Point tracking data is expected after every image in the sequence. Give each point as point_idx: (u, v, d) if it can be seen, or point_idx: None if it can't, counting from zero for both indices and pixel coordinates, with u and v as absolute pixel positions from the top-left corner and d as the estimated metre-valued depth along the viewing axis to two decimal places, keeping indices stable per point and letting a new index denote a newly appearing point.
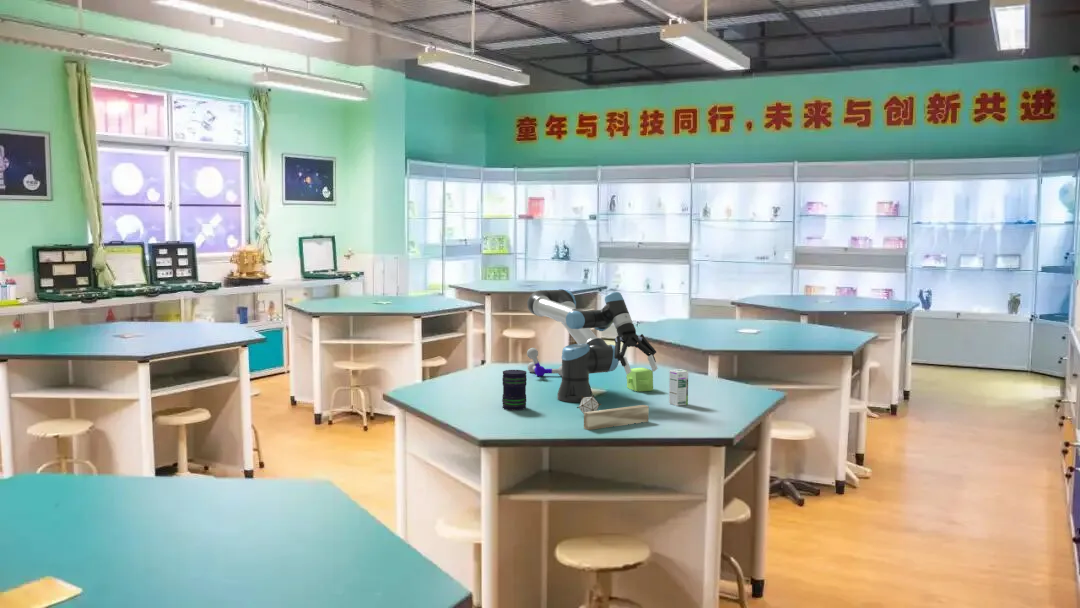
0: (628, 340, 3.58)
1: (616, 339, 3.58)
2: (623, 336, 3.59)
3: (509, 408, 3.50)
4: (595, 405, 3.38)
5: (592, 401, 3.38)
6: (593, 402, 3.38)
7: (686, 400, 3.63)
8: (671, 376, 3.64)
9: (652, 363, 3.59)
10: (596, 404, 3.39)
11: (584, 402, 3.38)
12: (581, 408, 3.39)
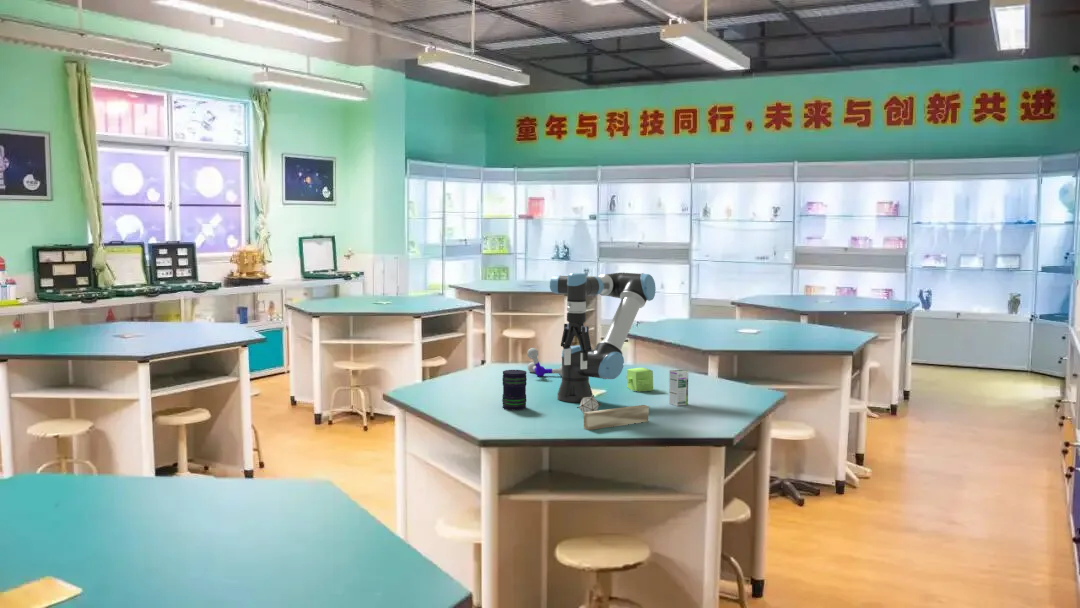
0: (569, 330, 3.47)
1: None
2: (568, 324, 3.49)
3: (509, 408, 3.50)
4: (595, 405, 3.38)
5: (592, 401, 3.38)
6: (593, 402, 3.38)
7: (686, 400, 3.63)
8: (671, 376, 3.64)
9: None
10: (596, 404, 3.39)
11: (584, 402, 3.38)
12: (581, 408, 3.39)
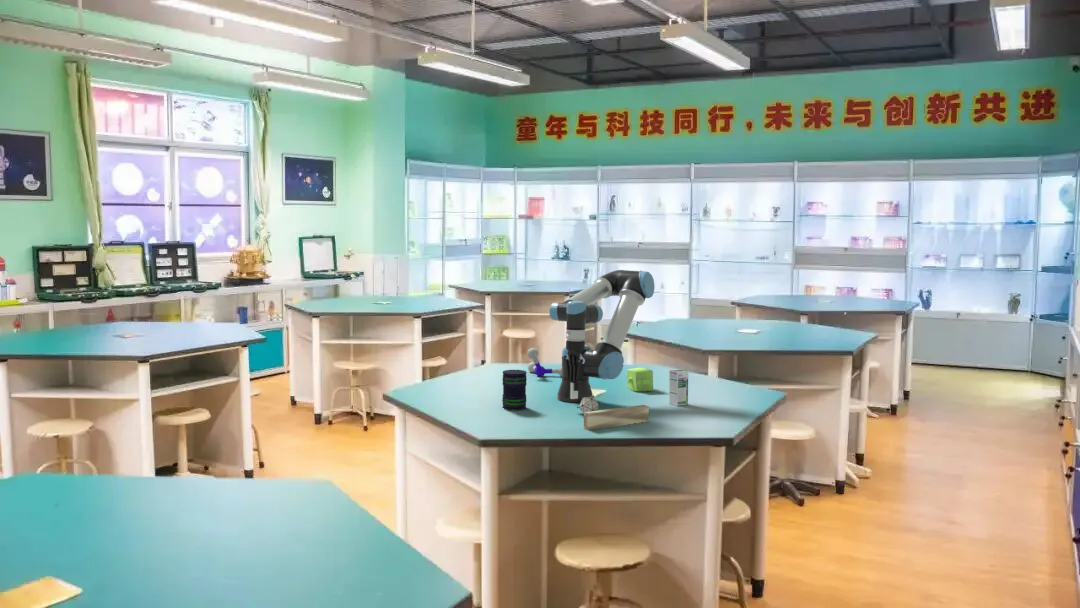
0: (569, 359, 3.48)
1: None
2: (567, 352, 3.50)
3: (509, 408, 3.50)
4: (595, 405, 3.38)
5: (592, 401, 3.38)
6: (593, 402, 3.38)
7: (686, 400, 3.63)
8: (671, 376, 3.64)
9: None
10: (596, 404, 3.39)
11: (584, 402, 3.38)
12: (581, 408, 3.39)
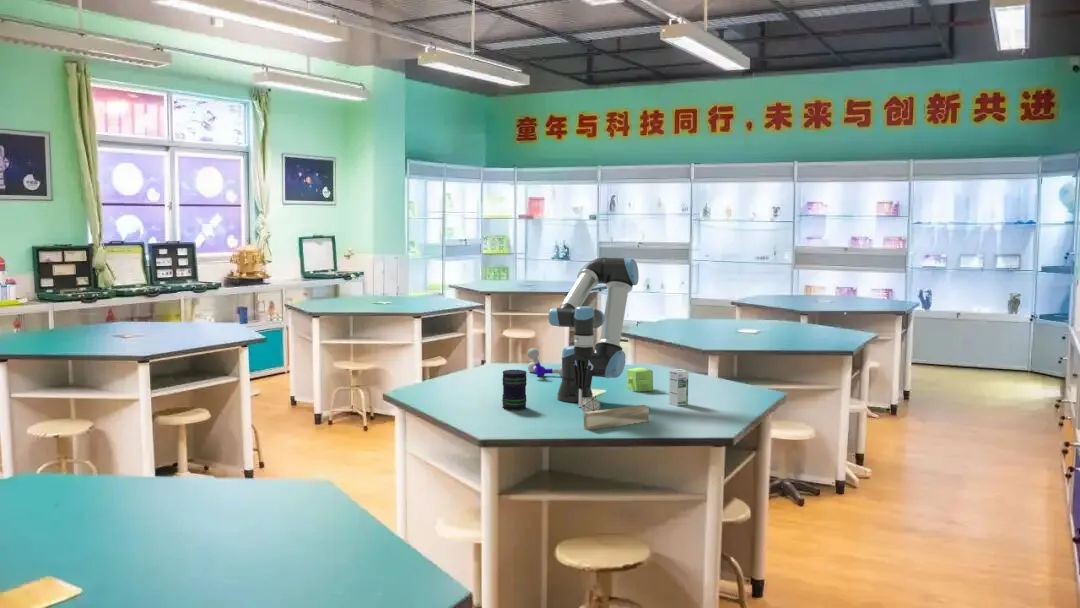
0: (577, 365, 3.43)
1: None
2: (575, 358, 3.45)
3: (509, 408, 3.50)
4: (596, 405, 3.37)
5: (593, 401, 3.37)
6: (595, 402, 3.37)
7: (686, 400, 3.63)
8: (671, 376, 3.64)
9: None
10: (597, 404, 3.38)
11: (585, 402, 3.37)
12: (582, 408, 3.39)
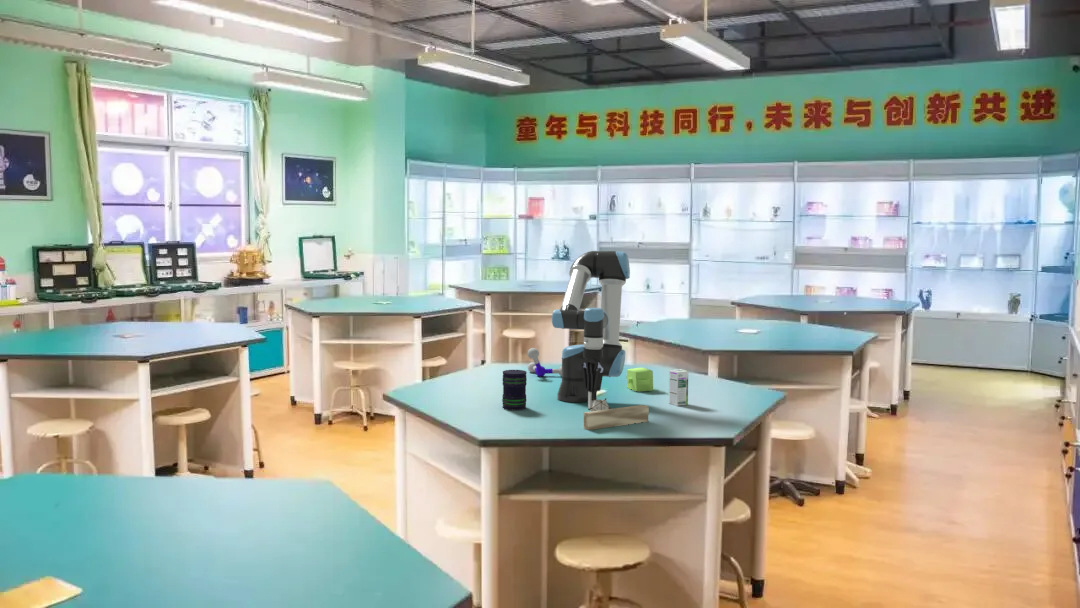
0: (587, 368, 3.37)
1: None
2: (585, 361, 3.39)
3: (509, 408, 3.50)
4: (605, 409, 3.32)
5: (601, 404, 3.32)
6: (603, 405, 3.32)
7: (686, 400, 3.63)
8: (671, 376, 3.64)
9: None
10: (606, 408, 3.32)
11: (594, 405, 3.33)
12: None
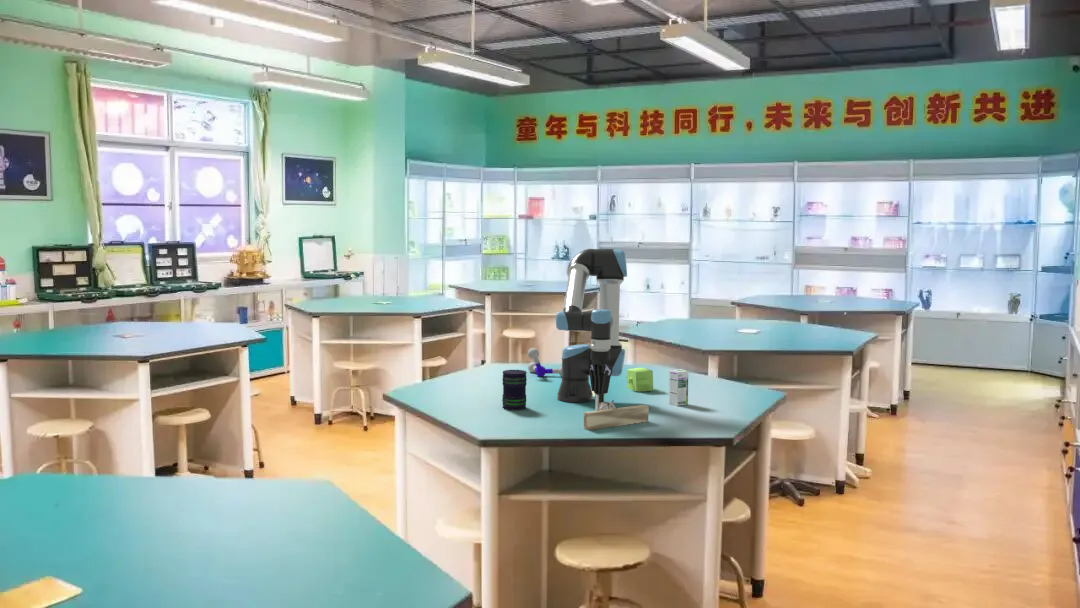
0: (594, 370, 3.34)
1: None
2: (592, 363, 3.36)
3: (509, 408, 3.50)
4: None
5: (609, 406, 3.28)
6: (610, 407, 3.28)
7: (686, 400, 3.63)
8: (671, 376, 3.64)
9: None
10: None
11: (601, 407, 3.29)
12: None
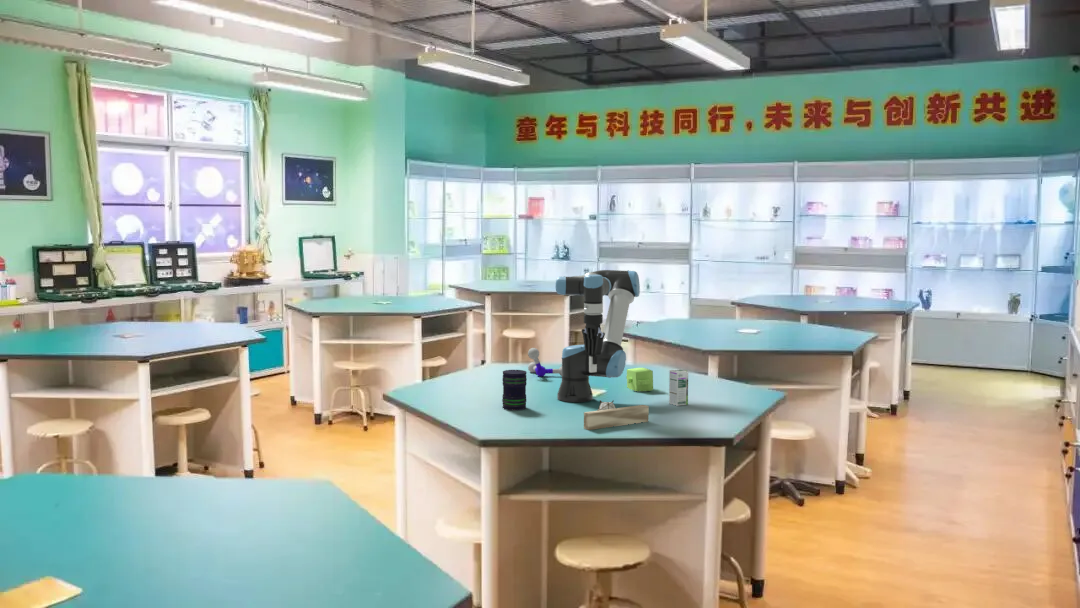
0: (587, 333, 3.47)
1: None
2: (585, 326, 3.49)
3: (509, 408, 3.50)
4: None
5: (609, 406, 3.28)
6: (610, 407, 3.28)
7: (686, 400, 3.63)
8: (671, 376, 3.64)
9: None
10: None
11: (601, 407, 3.29)
12: None
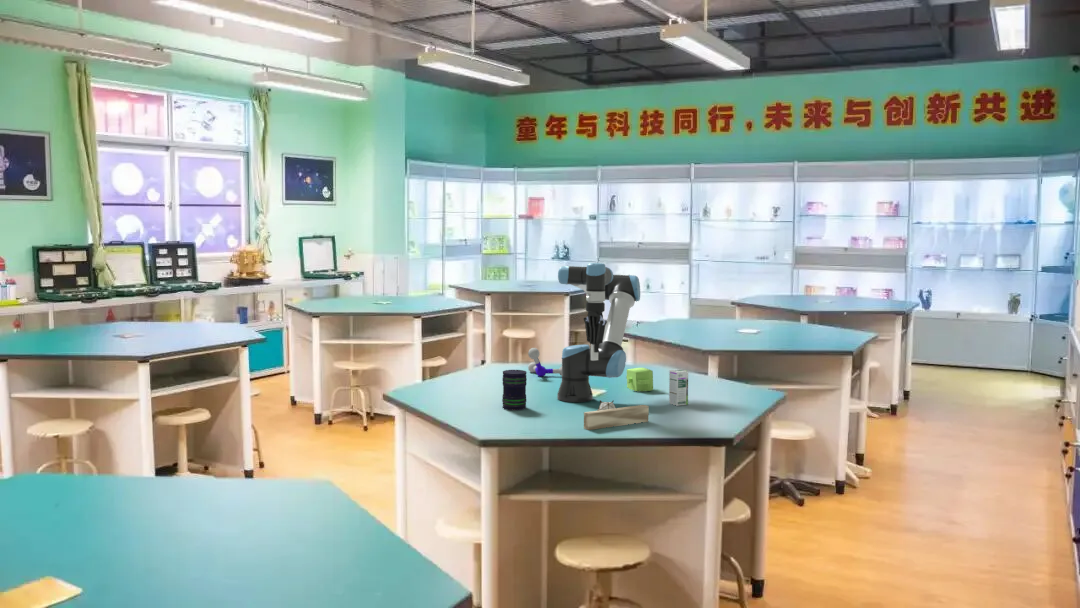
0: (589, 321, 3.49)
1: None
2: None
3: (509, 408, 3.50)
4: None
5: (609, 406, 3.28)
6: (610, 407, 3.28)
7: (686, 400, 3.63)
8: (671, 376, 3.64)
9: None
10: None
11: (601, 407, 3.29)
12: None
